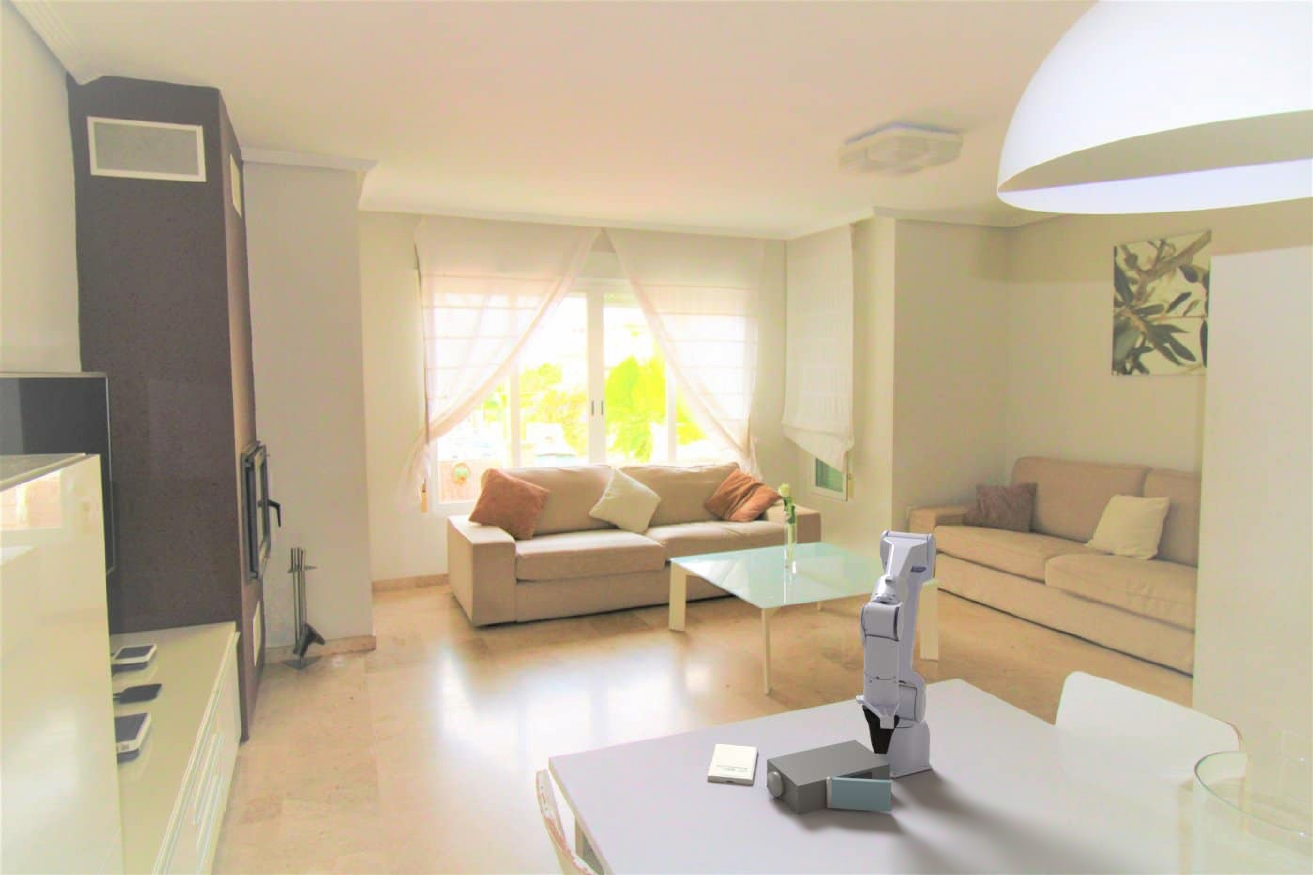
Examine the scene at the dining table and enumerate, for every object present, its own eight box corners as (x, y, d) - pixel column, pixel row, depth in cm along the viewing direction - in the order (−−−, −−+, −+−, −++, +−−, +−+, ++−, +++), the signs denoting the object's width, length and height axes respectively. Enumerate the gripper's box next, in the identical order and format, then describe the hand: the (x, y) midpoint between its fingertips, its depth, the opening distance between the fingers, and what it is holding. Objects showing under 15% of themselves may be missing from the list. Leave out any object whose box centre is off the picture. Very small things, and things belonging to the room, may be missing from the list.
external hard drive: (757, 755, 155) (752, 787, 143) (715, 751, 156) (707, 783, 144) (757, 747, 155) (752, 778, 142) (715, 743, 156) (707, 774, 144)
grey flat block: (854, 765, 149) (855, 739, 149) (890, 791, 140) (890, 764, 140) (761, 787, 141) (761, 760, 141) (792, 816, 132) (792, 787, 132)
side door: (889, 808, 133) (890, 780, 133) (890, 811, 132) (891, 783, 132) (826, 804, 135) (826, 776, 134) (826, 807, 134) (827, 779, 133)
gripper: (851, 657, 142) (850, 730, 143) (862, 689, 127) (861, 770, 128) (892, 658, 141) (891, 732, 142) (907, 691, 126) (906, 773, 128)
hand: (879, 751), depth 135 cm, fingers closed
